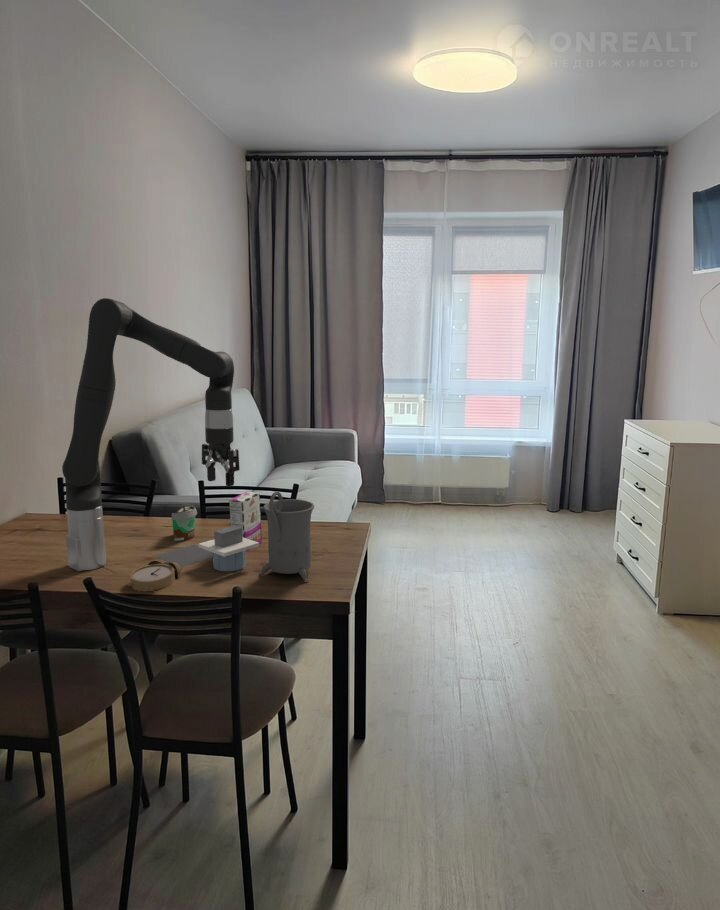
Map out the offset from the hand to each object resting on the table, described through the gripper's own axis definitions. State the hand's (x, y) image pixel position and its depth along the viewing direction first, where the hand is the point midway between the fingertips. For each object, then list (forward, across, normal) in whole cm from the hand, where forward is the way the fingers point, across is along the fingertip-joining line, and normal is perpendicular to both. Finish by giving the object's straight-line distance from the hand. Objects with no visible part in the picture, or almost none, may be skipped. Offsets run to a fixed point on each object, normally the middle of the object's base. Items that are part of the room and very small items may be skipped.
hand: (220, 483), depth 188 cm
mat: (+24, -14, -2) cm, 28 cm away
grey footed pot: (+24, +19, +8) cm, 32 cm away
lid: (+18, +2, +1) cm, 18 cm away
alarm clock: (+25, -3, -19) cm, 31 cm away
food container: (+24, -29, +7) cm, 39 cm away
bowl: (+24, +2, +1) cm, 24 cm away
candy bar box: (+24, -8, +15) cm, 29 cm away
